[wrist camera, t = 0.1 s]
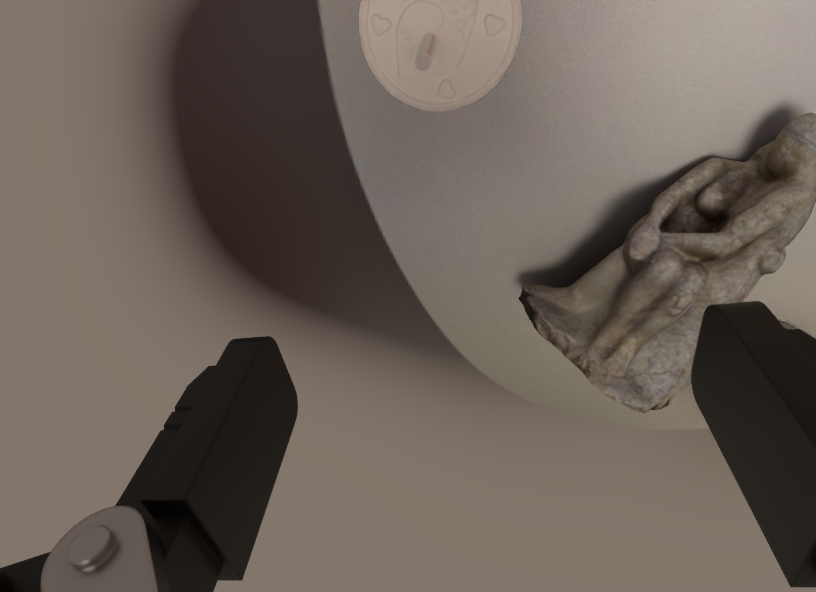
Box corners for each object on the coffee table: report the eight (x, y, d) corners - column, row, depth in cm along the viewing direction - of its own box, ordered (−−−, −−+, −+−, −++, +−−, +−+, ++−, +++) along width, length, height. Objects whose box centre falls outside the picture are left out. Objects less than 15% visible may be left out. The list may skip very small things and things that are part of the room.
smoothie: (362, 6, 28) (294, 55, 16) (443, -106, 25) (430, -143, 13) (446, 90, 30) (438, 184, 18) (530, -4, 27) (584, 40, 15)
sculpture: (692, 67, 33) (851, 172, 32) (521, 280, 40) (646, 372, 38) (747, 27, 22) (984, 181, 21) (503, 324, 29) (674, 451, 28)
